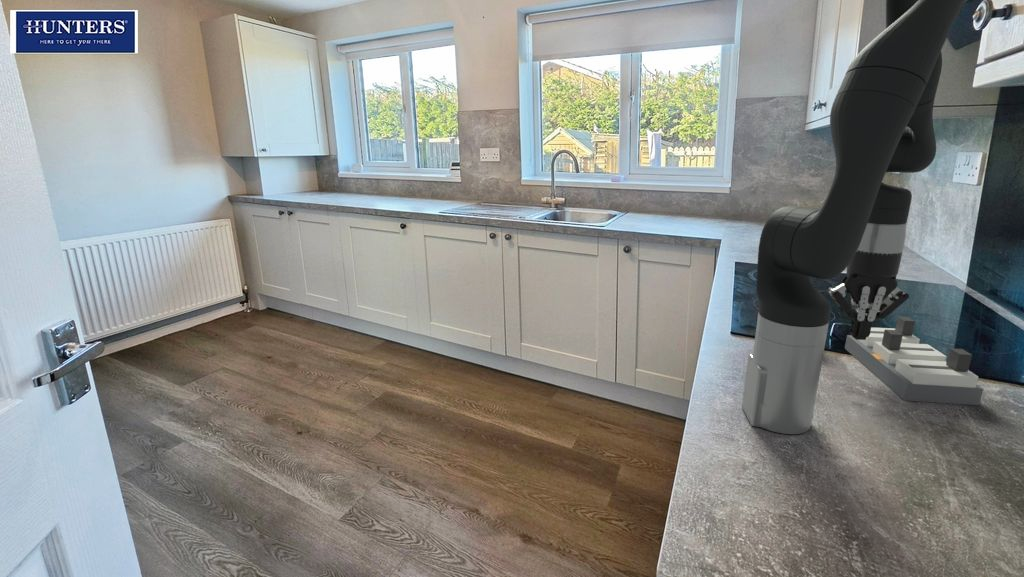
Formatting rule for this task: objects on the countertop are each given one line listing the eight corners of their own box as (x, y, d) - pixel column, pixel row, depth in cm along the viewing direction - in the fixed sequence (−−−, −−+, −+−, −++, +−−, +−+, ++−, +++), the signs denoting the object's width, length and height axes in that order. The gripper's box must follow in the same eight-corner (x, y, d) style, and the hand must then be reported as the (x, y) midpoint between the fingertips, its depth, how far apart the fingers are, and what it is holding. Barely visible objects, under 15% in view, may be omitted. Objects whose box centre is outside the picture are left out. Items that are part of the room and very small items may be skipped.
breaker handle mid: (888, 349, 90) (891, 334, 90) (881, 344, 93) (884, 329, 92) (899, 350, 90) (902, 334, 89) (892, 344, 92) (895, 330, 92)
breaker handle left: (901, 335, 97) (904, 320, 96) (894, 330, 99) (897, 316, 98) (911, 335, 97) (915, 321, 96) (904, 331, 99) (908, 317, 98)
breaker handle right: (955, 370, 82) (959, 354, 81) (945, 364, 84) (950, 348, 83) (967, 371, 81) (972, 354, 81) (958, 365, 84) (962, 349, 83)
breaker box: (903, 400, 83) (909, 372, 82) (844, 348, 104) (848, 325, 102) (978, 405, 81) (986, 377, 79) (903, 351, 102) (908, 328, 100)
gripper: (844, 251, 85) (828, 344, 90) (931, 252, 82) (910, 348, 87) (826, 242, 92) (812, 329, 97) (906, 243, 90) (887, 332, 94)
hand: (858, 338), depth 92 cm, fingers closed
